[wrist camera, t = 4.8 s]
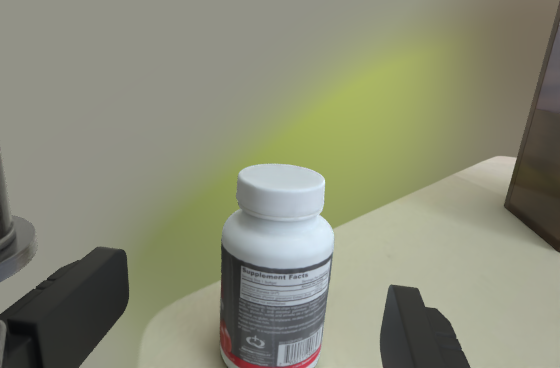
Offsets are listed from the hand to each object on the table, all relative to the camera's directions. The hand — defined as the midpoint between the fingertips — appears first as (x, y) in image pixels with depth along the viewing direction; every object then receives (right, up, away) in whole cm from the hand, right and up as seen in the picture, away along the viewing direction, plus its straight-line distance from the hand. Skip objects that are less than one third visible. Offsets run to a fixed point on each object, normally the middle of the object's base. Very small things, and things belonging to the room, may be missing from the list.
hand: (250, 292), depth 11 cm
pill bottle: (0, -6, +9) cm, 11 cm away
